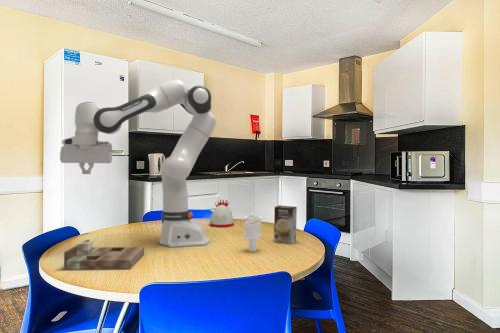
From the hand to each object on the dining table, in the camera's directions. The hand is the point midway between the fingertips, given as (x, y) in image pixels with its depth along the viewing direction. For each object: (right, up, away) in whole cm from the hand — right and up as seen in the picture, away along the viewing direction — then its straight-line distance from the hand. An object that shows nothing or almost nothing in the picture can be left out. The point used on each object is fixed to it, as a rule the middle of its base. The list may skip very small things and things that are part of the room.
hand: (86, 174), depth 142 cm
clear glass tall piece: (+70, -32, -3) cm, 77 cm away
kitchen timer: (+53, -31, +52) cm, 80 cm away
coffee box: (+85, -32, +13) cm, 91 cm away
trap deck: (+17, -32, -19) cm, 40 cm away
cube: (+9, -29, -19) cm, 36 cm away
